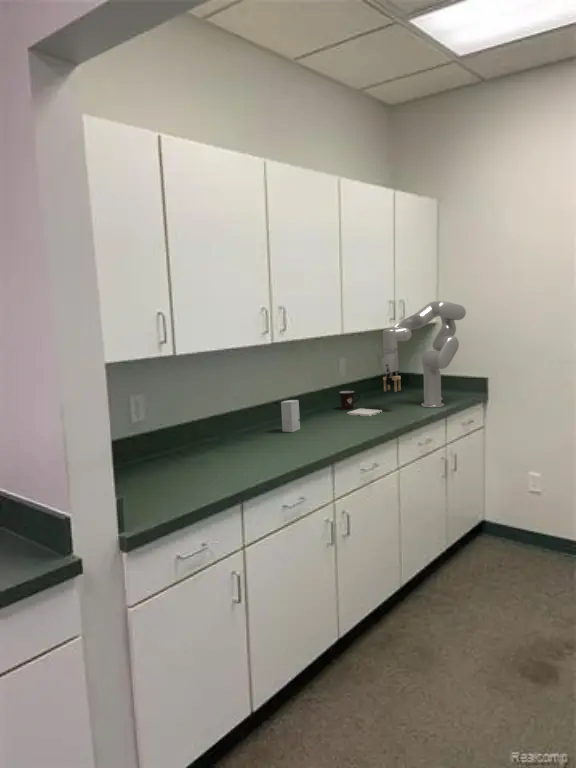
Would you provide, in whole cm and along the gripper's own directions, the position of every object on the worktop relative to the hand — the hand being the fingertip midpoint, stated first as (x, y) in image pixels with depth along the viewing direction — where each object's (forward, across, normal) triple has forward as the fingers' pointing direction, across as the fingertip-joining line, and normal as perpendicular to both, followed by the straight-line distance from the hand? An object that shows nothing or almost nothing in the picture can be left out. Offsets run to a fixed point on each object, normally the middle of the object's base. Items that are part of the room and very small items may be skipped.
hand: (392, 383), depth 325 cm
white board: (+15, +12, -12) cm, 22 cm away
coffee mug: (+15, +3, -26) cm, 31 cm away
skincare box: (+14, +66, -21) cm, 71 cm away
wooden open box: (+4, 0, 0) cm, 4 cm away
